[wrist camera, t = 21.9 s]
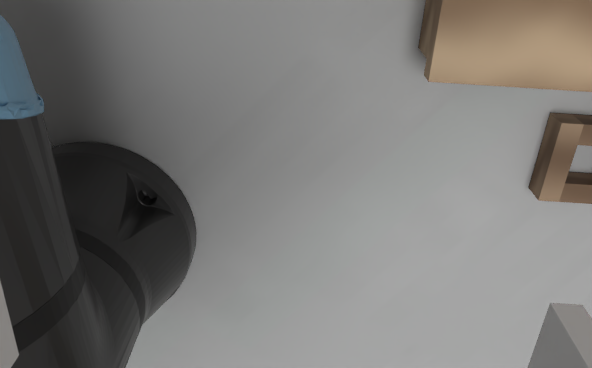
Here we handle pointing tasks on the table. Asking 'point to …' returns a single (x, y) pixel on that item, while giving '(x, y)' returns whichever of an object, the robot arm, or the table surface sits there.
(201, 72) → the table surface
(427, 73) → the wooden pallet
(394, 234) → the table surface
